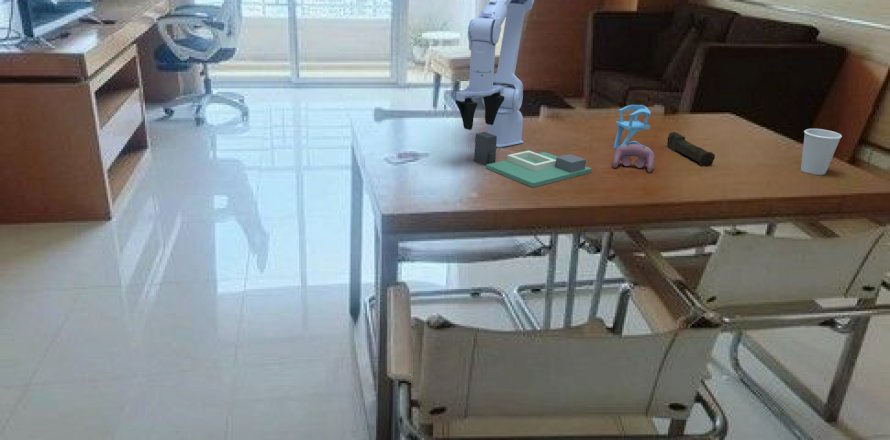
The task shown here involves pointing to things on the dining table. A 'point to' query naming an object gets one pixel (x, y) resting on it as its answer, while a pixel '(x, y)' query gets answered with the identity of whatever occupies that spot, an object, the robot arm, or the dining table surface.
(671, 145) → the hand tool
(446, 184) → the dining table surface
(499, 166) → the circuit board
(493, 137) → the dark grey upright block
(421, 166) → the dining table surface
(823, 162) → the dixie cup
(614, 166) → the video game controller
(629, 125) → the chair
